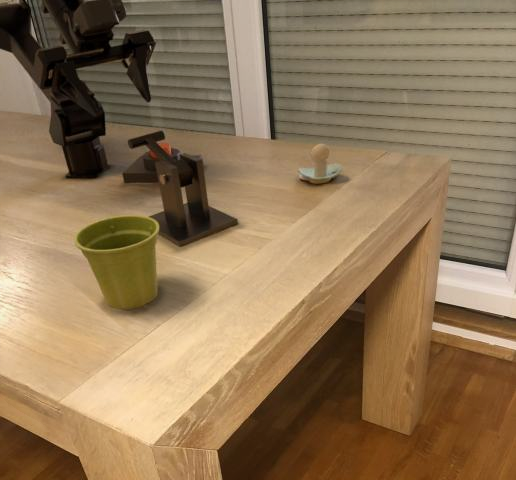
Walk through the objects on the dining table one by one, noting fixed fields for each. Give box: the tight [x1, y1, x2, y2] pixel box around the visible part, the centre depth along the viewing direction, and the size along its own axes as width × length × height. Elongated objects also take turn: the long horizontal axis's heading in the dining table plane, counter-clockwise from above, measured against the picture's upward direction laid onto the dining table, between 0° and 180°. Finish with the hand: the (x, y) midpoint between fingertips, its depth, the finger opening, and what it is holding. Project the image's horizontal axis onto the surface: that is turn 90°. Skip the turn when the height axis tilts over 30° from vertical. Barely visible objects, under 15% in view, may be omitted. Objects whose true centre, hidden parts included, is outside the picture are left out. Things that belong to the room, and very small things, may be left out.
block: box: [121, 147, 204, 184], centre depth 101 cm, size 12×9×4 cm
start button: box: [149, 142, 172, 158], centre depth 99 cm, size 4×4×2 cm
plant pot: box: [73, 214, 159, 310], centre depth 65 cm, size 9×9×9 cm
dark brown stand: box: [148, 152, 239, 248], centre depth 81 cm, size 11×10×10 cm
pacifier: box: [297, 143, 343, 185], centre depth 93 cm, size 7×6×6 cm
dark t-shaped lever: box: [127, 130, 193, 188], centre depth 80 cm, size 11×6×2 cm, turn 38°
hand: (123, 107), depth 86 cm, fingers open, 9 cm apart
